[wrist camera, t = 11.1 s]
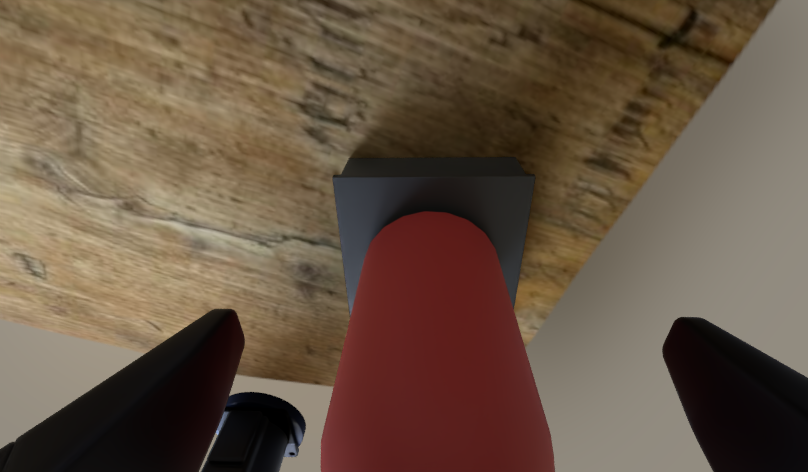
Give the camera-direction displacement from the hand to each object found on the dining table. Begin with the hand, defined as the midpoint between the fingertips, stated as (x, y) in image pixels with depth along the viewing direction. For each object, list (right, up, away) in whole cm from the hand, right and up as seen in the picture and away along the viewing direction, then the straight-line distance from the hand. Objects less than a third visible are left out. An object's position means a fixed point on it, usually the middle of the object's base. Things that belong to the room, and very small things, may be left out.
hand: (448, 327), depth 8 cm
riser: (+1, +2, +14) cm, 14 cm away
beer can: (0, +1, +11) cm, 12 cm away
